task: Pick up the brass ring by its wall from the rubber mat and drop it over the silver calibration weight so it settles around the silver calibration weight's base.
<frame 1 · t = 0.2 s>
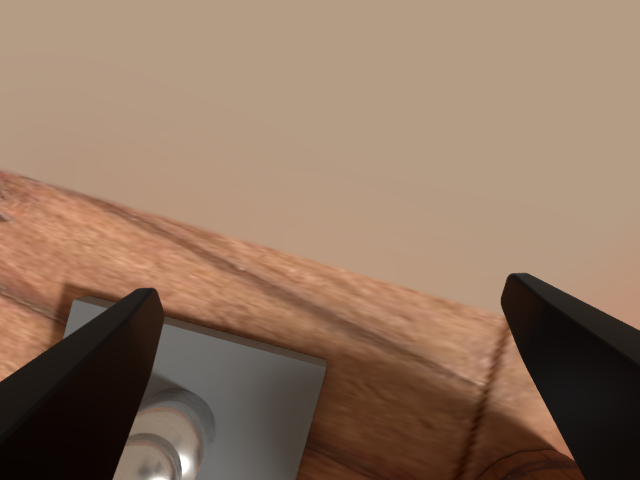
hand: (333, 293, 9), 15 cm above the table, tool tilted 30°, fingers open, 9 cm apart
silver calibration weight: (174, 428, 23), resting on mat
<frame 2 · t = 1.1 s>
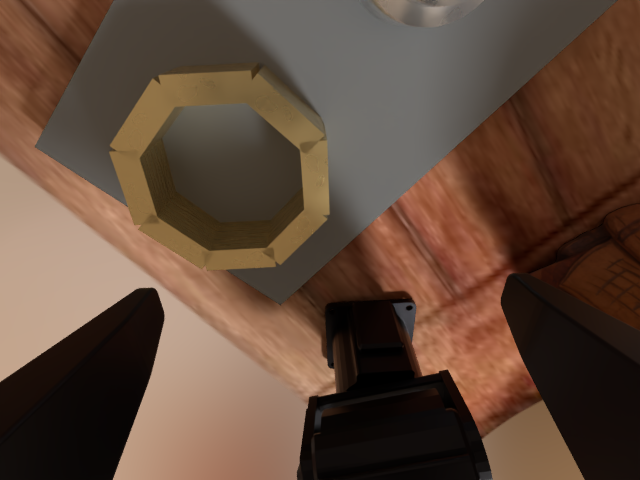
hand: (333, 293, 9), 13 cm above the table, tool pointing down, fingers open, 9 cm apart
wooden figurine: (601, 253, 25), on the table
mat: (311, 67, 18), on the table
brass ring: (236, 162, 19), point 1 cm above the table, touching mat
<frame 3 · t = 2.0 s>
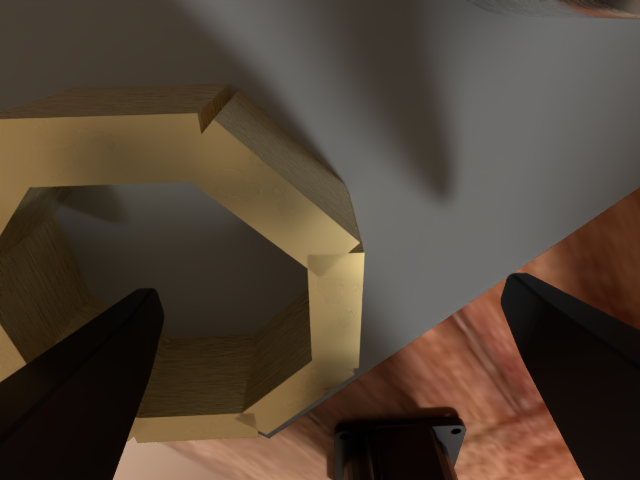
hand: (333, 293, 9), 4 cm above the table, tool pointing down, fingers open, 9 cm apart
mat: (327, 91, 10), on the table
brass ring: (192, 253, 11), point 1 cm above the table, touching mat
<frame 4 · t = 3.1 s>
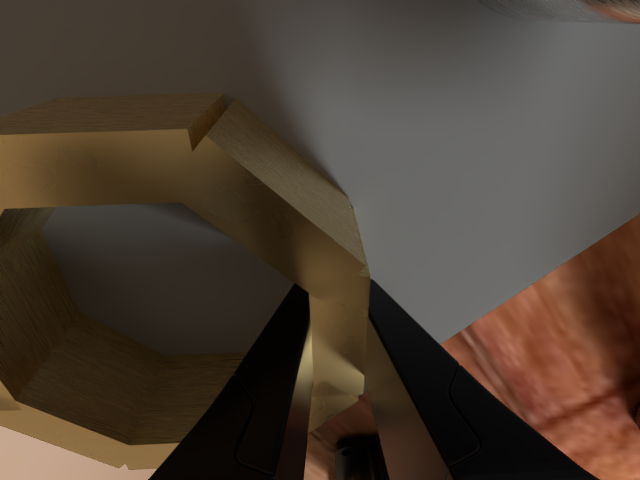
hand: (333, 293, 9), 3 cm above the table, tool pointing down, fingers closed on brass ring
mat: (329, 99, 10), on the table
brass ring: (187, 269, 10), point 1 cm above the table, touching gripper, mat
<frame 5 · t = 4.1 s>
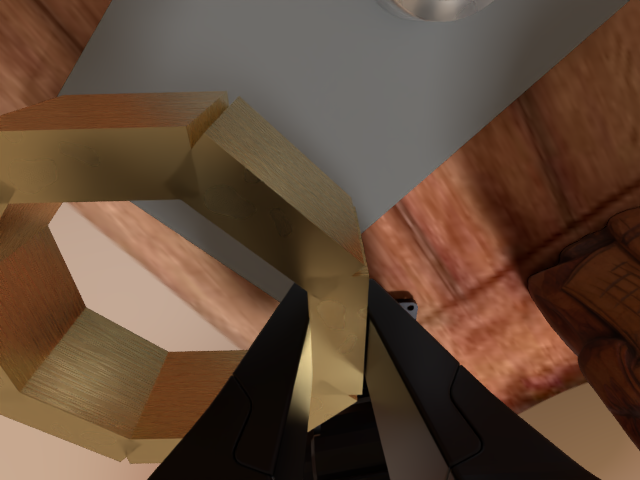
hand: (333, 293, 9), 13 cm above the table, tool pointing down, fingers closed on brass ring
wooden figurine: (604, 256, 25), on the table
mat: (318, 62, 18), on the table
brass ring: (189, 266, 11), point 11 cm above the table, touching gripper
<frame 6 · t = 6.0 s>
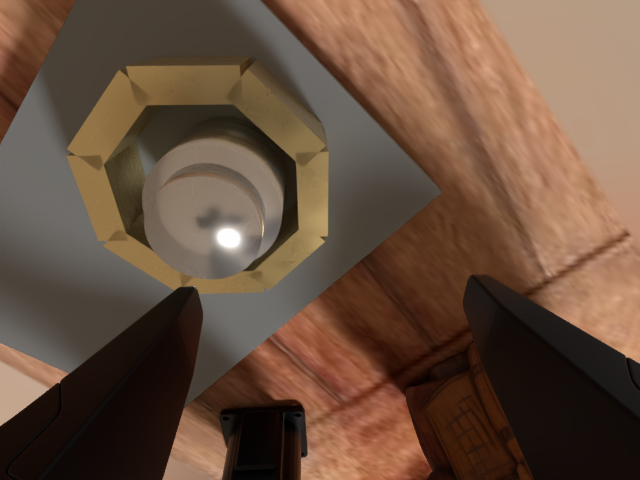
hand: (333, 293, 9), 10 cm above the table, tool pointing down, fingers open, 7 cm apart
silver calibration weight: (231, 172, 17), resting on mat
wooden figurine: (473, 370, 27), on the table
mat: (171, 237, 20), on the table
brass ring: (221, 170, 17), point 1 cm above the table, touching mat
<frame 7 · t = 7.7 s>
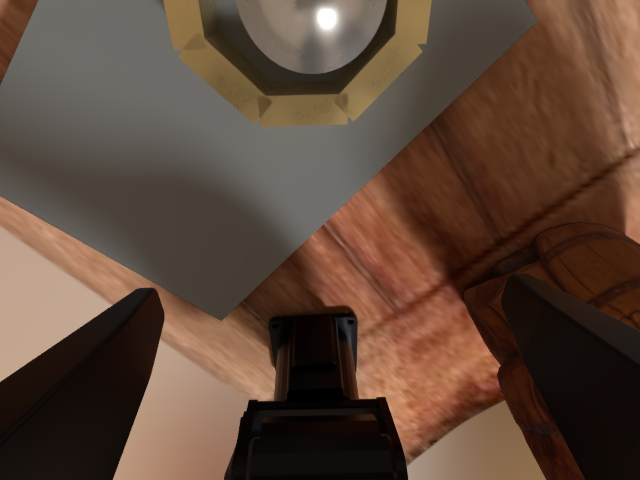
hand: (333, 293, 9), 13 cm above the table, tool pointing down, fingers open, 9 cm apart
wooden figurine: (536, 270, 26), on the table
mat: (231, 96, 19), on the table
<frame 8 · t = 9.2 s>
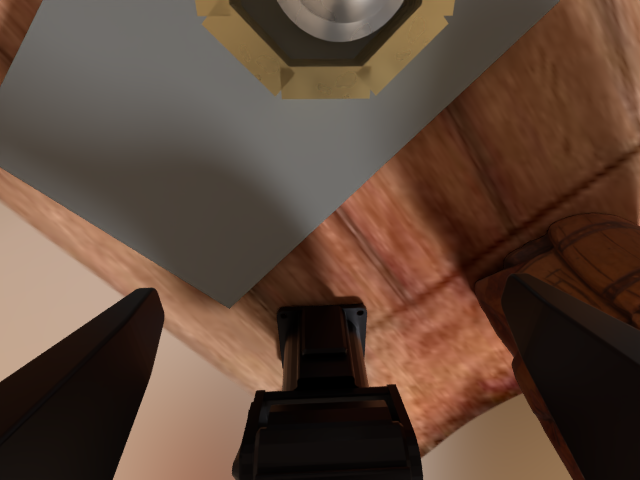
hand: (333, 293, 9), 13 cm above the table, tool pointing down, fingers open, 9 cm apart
wooden figurine: (548, 262, 26), on the table
mat: (248, 75, 19), on the table
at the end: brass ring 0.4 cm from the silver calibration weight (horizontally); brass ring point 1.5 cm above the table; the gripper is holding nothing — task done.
